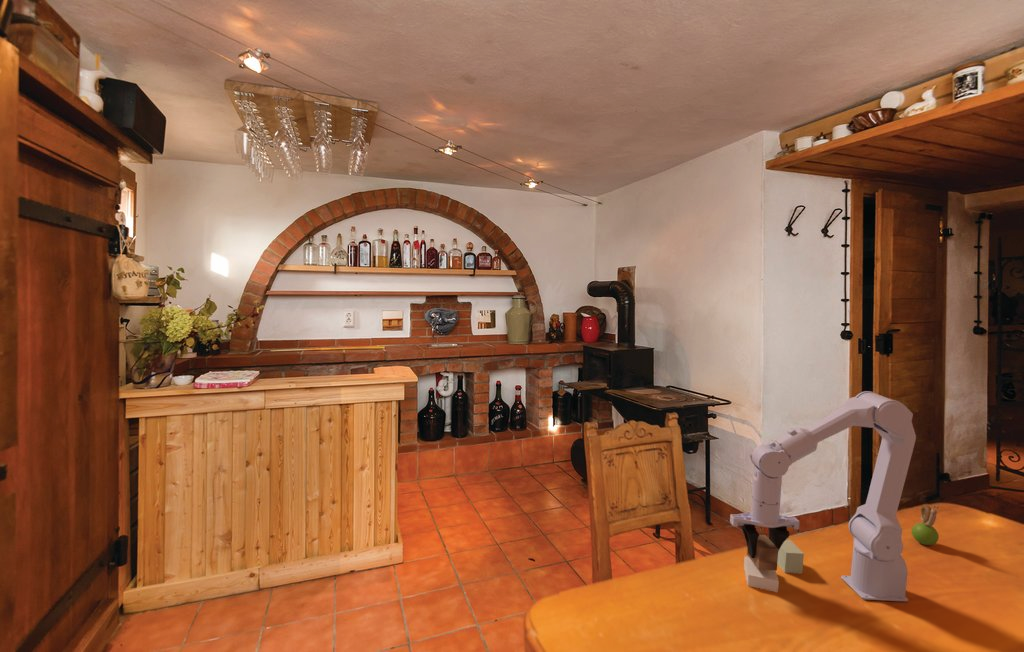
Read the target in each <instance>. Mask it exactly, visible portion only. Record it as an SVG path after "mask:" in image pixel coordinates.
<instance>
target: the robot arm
mask: <svg viewBox="0 0 1024 652" xmlns="http://www.w3.org/2000/svg"><path fill="white" fill-rule="evenodd" d="M913 416H914V414H913V412H911V410H910V409H909V408H908V407H907V406H906V405H905V404H904V403H902V402H901V401H899V400H895V399H892V398H890V397H889V398H888V397H886V396H884V395H880V394H878V393H876V392H874V391H870V390H869V391H868V390H865V391H861V392H860V393H857V395H856V396H853V397H849V398H848V399H847V400H846V401H845V403H844V404H842V405H841V406H840V407H839V408H837V409H835V410H834V411H832V412H831V413H829V414H828V415H826V416H824V417H823V418H821V419H820V420H818V421H816V423H814V424H812V425H811V426H809V427H808V428H802V427H797V428H795V429H794V428H789V429H788V430H787V433H785V434H784V435H782V436H780V437H778V438H776V439H775V440H771V441H768V444H761V445H758V446H756V447H755V448H754V449H753V451H752V453H750V454H749V457H750V460H751V463H752V464H753V465H754V466H753V477H752V489H751V491H752V492H751V503H750V504H751V505H750V506H751V507H750V512H743V513H737V514H736V513H735V514H733V513H730V515H729V516H730V517H729V523H730V524H731V525H732V527H735V528H736V527H738V526H740V528H741V530H742V534H743V536H744V539H745V542H746V549H747V548H748V554H749V555H750V556H751V558H755V555H756V545H757V540H758V537H759V535H761V534H760V533H759V532H758V531H757V527H764V528H768V538H769V539H770V540H771V541H772V543H773V544H774V545H775V546H776V547H777V548H778V552H779V549H780V547H781V546H782V544H783V543H784V541H785V540H788V538H789V537H790V531H789V530H788V529H787V528H792V529H794V530H800V520H799V519H798V518H796V517H795V516H786V515H783V514H782V515H781V514H780V510H781V495H782V485H783V482H782V481H783V478H782V477H783V476H785V475H786V474H787V472H788V470H789V467H790V466H792V465H793V464H794V463H796V462H797V461H800V460H801V459H803V458H805V457H806V456H808V455H810V454H812V453H813V452H814V453H815V452H816V451H817V447H818V443H820V442H822V441H824V440H826V439H828V438H831V437H832V436H834V435H836V434H838V433H841V432H842V431H845V430H847V429H849V428H851V427H862V428H870V429H871V428H872V429H873V428H874V430H875V431H876V432H877V433H878V434H879V436H880V437H881V441H880V442H881V443H880V446H879V449H878V454H877V457H876V461H875V465H874V469H873V473H872V478H871V481H870V486H869V490H868V494H867V497H866V501H865V503H864V504H862V505H860V506H857V507H856V511H855V513H854V515H853V516H852V517H851V518H850V520H849V522H848V531H849V534H851V535H852V536H853V544H852V545H853V546H852V547H853V548H852V557H851V559H852V560H851V568H850V569H851V570H850V575H841V577H840V578H841V579H842V581H844V582H845V583H846V584H847V585H848V586H849V587H850V588H851V589H852V590H853V591H854V592H855V593H856V595H858V596H859V597H860V598H862V600H868V601H869V600H870V601H871V600H872V601H891V602H908V601H909V599H908V598H907V597H906V595H907V594H906V593H907V592H906V591H907V582H908V573H909V572H908V566H907V563H906V561H905V559H904V558H903V556H902V555H901V554H902V553H903V551H904V543H903V541H902V540H903V539H902V534H903V529H902V528H903V527H902V526H901V524H900V522H899V519H898V517H897V514H898V509H899V504H900V502H901V497H902V493H903V489H904V486H905V482H906V478H907V475H908V471H909V467H910V463H911V458H912V455H913V452H914V448H915V443H916V441H917V440H916V438H917V435H916V432H915V429H914V425H913V422H912V421H913Z"/></svg>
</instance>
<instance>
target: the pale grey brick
mask: <svg viewBox="0 0 1024 652" xmlns="http://www.w3.org/2000/svg"><path fill="white" fill-rule="evenodd" d="M743 560H744V561H743V569H744V573H745V579H746V583H747V584H746V585H747V587H750V588H756V589H759V588H760V589H759V590H764V589H765V591H770V592H774V593H778V592H779V582H780V581H779V577H778V574H777V570H758V568H757V567H756V566H755V564H754V563H753V562H752V560H751V559H750V558H749V557H748V555H744V559H743Z"/></svg>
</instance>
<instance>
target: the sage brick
mask: <svg viewBox="0 0 1024 652" xmlns="http://www.w3.org/2000/svg"><path fill="white" fill-rule="evenodd" d="M777 566H778V567H779V568H780V570H782V572H784V573H785V574H800V575H801V574H803V569H804V568H803V567H804V552H803V551H802V550H801V549H800V548H799V547H798V546H797V545H796V544H795V543H794V542H793V541H792V540H791V539H786V540H785V541H784V543H783V544H782V546H781V547H780V549H779V552H778V562H777Z"/></svg>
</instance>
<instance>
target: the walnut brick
mask: <svg viewBox="0 0 1024 652" xmlns="http://www.w3.org/2000/svg"><path fill="white" fill-rule="evenodd" d="M746 556H747V557H749V558H750V559H751V560H752V562H753V563H754V564H755V566H756V567H757V568H758V570H776V571H777V570H778V564H777V562H778V548H777V547H776V546H775V545H774V544H773V543H772V541H771V540H770V539H769V536H768V535H766V534H760V535H759V537H758V540H757V545H756V555H755V558H751V556H750V555H749V554H748V548H747V547H746Z"/></svg>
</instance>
